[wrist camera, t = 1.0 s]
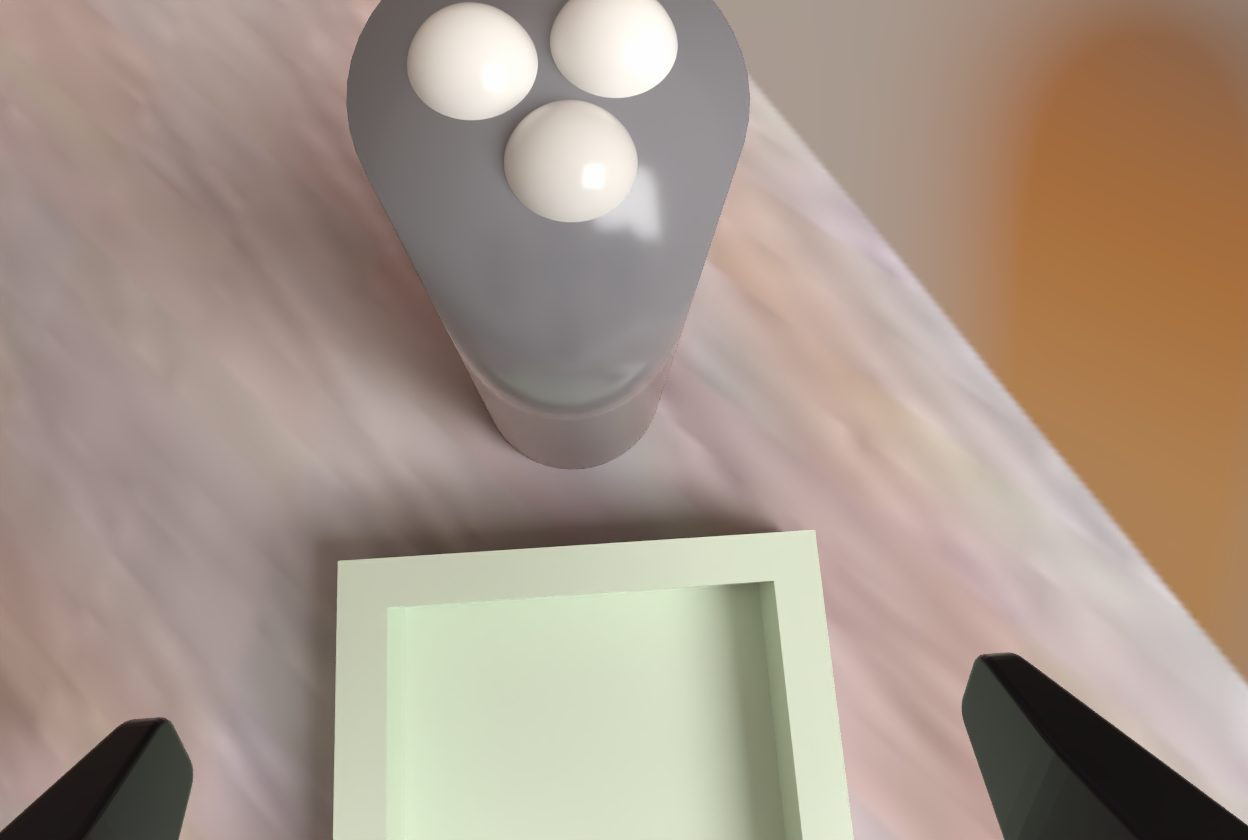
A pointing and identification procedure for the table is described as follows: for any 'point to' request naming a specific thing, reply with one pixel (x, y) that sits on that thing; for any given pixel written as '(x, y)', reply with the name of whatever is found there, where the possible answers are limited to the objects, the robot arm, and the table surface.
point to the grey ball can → (554, 193)
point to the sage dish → (589, 694)
